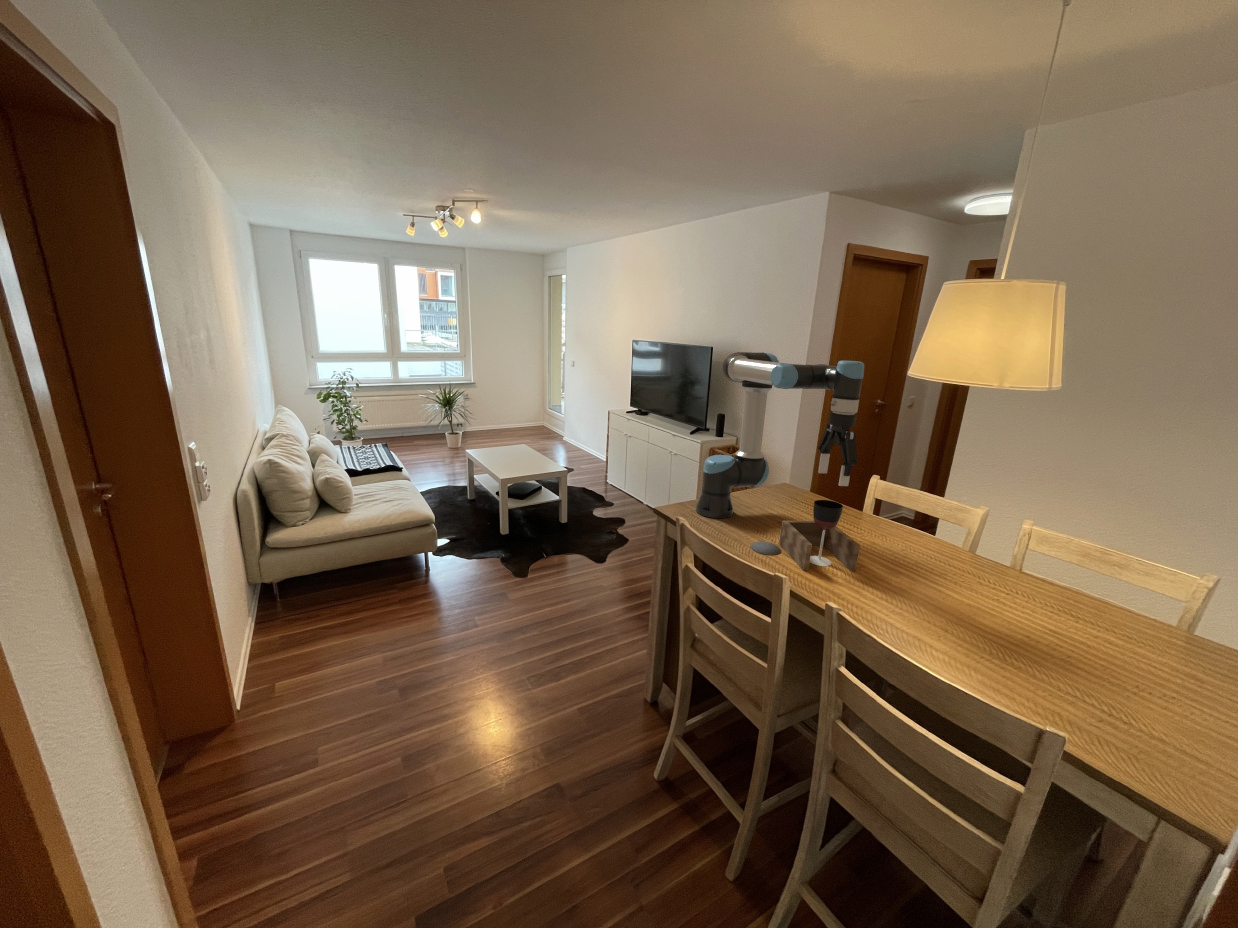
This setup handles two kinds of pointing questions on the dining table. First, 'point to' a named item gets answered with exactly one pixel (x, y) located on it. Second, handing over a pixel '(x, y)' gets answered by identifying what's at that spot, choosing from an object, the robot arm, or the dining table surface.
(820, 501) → the wineglass
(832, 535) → the walnut u-shaped bracket
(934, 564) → the dining table surface
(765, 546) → the felt coaster
